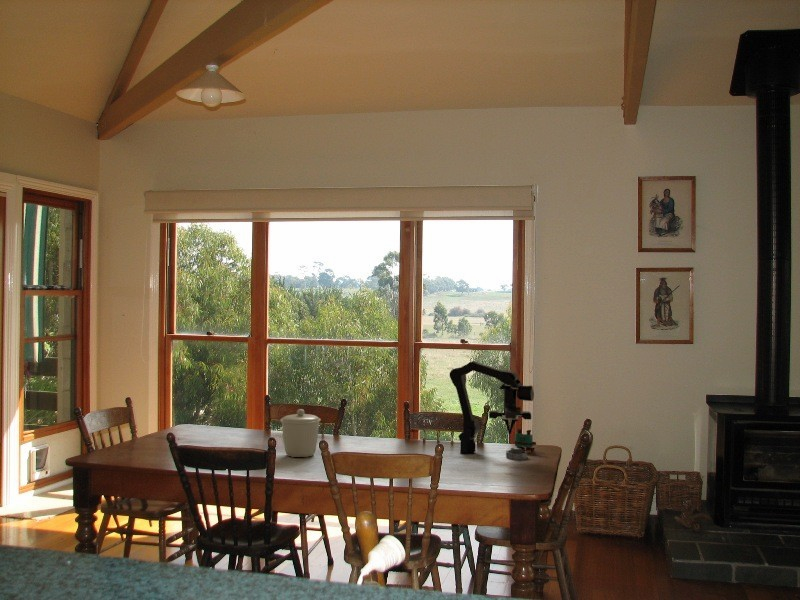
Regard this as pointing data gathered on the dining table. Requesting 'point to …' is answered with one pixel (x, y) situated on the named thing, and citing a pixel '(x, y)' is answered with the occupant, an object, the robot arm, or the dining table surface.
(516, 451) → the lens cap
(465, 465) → the dining table surface
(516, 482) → the dining table surface
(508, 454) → the barrel ring
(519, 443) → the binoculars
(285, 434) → the canister
